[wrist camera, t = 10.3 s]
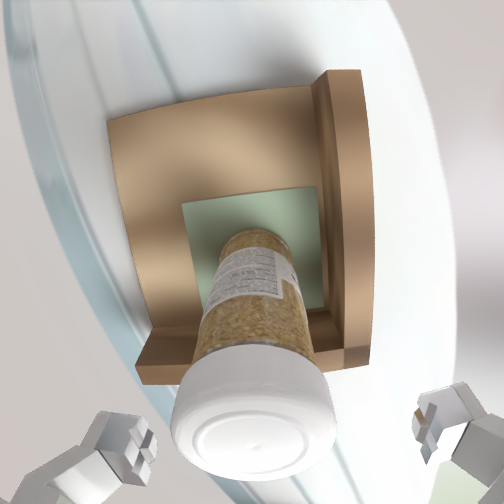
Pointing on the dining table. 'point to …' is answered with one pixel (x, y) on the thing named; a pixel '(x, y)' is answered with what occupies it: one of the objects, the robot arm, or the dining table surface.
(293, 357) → the sprinkles bottle
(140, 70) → the dining table surface
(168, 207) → the corner arena
